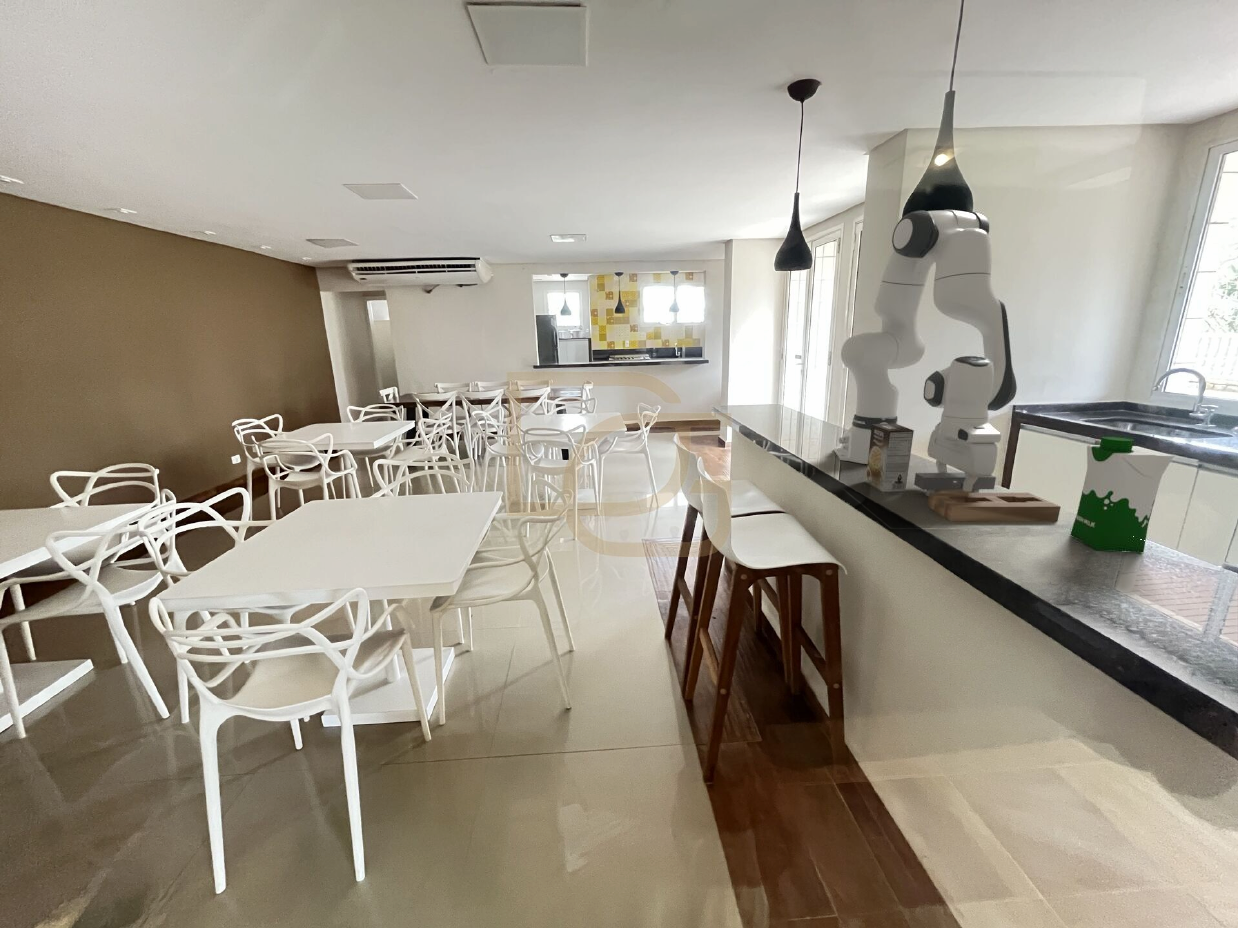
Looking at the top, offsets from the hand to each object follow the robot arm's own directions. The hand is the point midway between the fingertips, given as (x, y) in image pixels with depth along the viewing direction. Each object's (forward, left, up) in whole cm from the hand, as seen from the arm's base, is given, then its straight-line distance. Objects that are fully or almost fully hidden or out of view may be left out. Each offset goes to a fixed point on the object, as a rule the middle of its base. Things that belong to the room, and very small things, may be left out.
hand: (953, 484), depth 115 cm
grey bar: (0, 0, -3) cm, 3 cm away
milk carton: (+27, +12, -3) cm, 30 cm away
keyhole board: (+12, +1, -3) cm, 12 cm away
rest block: (0, 0, -3) cm, 3 cm away
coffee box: (-8, -12, -3) cm, 15 cm away
